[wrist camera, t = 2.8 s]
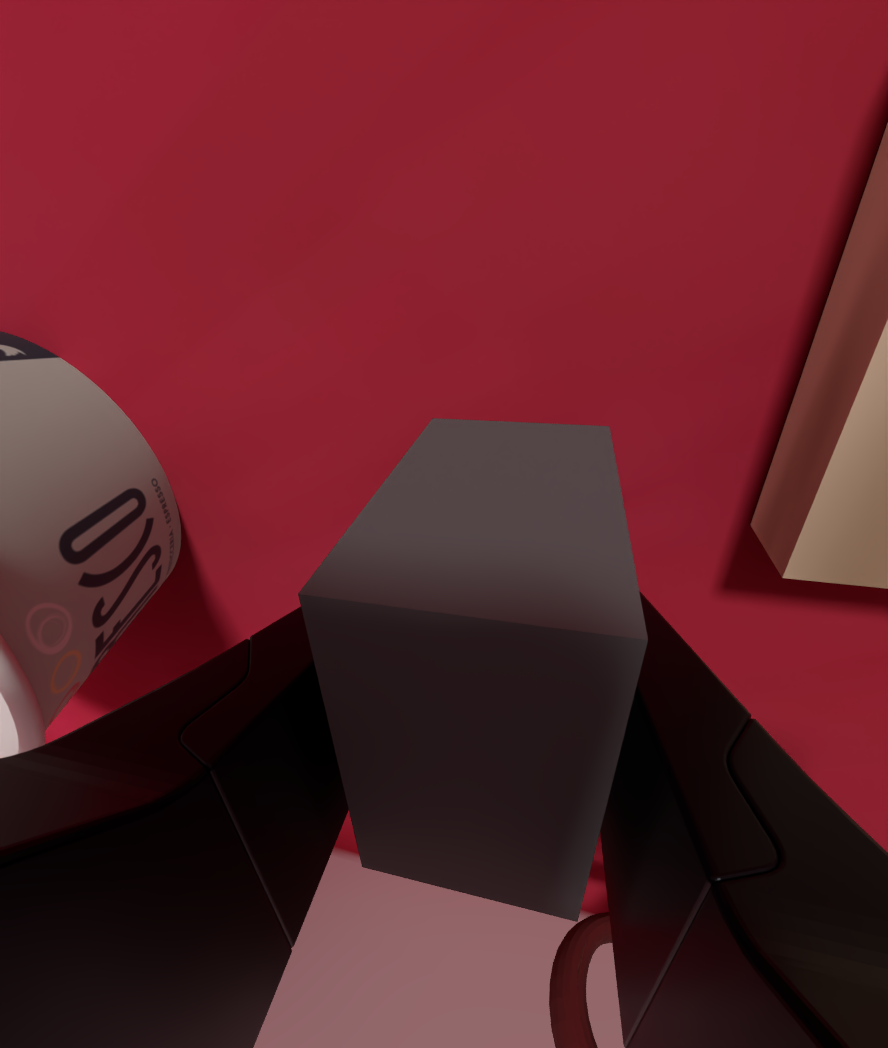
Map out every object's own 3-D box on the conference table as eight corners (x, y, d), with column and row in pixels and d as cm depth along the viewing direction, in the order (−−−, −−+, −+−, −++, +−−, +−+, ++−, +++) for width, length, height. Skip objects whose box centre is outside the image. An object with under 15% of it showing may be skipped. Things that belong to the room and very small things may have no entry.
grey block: (609, 426, 8) (647, 639, 4) (576, 647, 10) (576, 921, 6) (432, 418, 9) (298, 594, 4) (441, 629, 11) (362, 866, 7)
